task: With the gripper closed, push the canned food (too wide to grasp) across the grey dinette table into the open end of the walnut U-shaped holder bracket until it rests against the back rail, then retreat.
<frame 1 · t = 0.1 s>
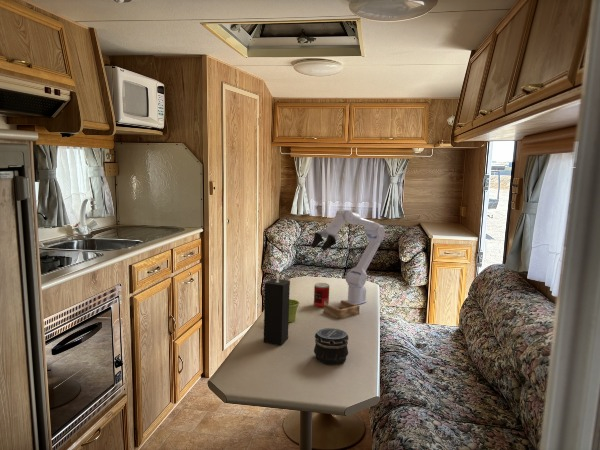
hand: (317, 247, 210), 32 cm above the table, tool tilted 50°, fingers open, 7 cm apart
plant pot: (288, 320, 201), on the table
canned food: (321, 305, 225), on the table
holder: (340, 312, 214), on the table
container: (330, 359, 163), on the table
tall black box: (275, 341, 177), on the table
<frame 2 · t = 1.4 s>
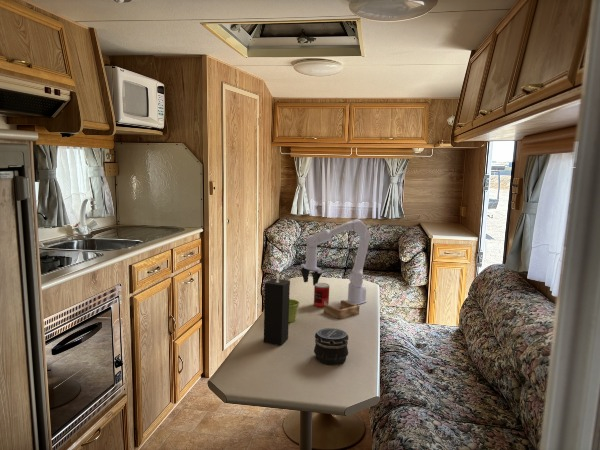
hand: (310, 283, 231), 9 cm above the table, tool pointing down, fingers open, 7 cm apart
nothing on the table moved.
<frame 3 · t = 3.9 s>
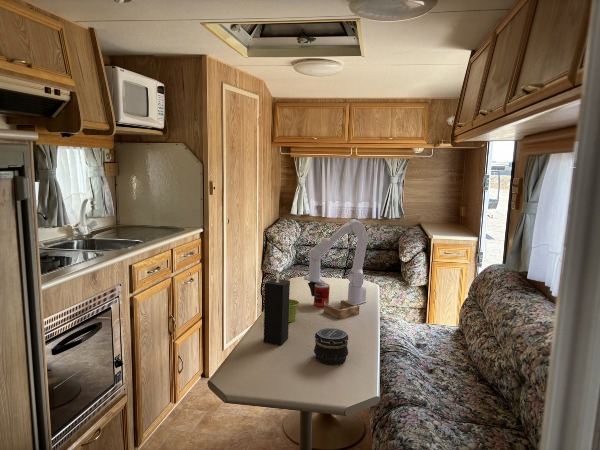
hand: (313, 295, 229), 3 cm above the table, tool pointing down, fingers closed
canned food: (321, 305, 225), on the table, touching gripper
everything else where it was.
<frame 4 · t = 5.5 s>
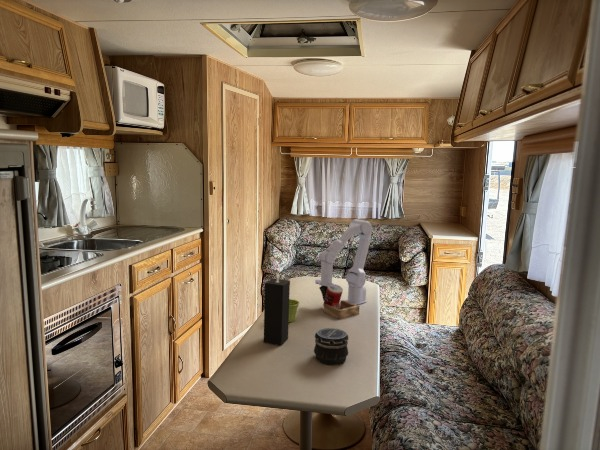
hand: (325, 300, 222), 3 cm above the table, tool pointing down, fingers closed
canned food: (330, 307, 220), point 1 cm above the table, touching gripper
everything else where it was.
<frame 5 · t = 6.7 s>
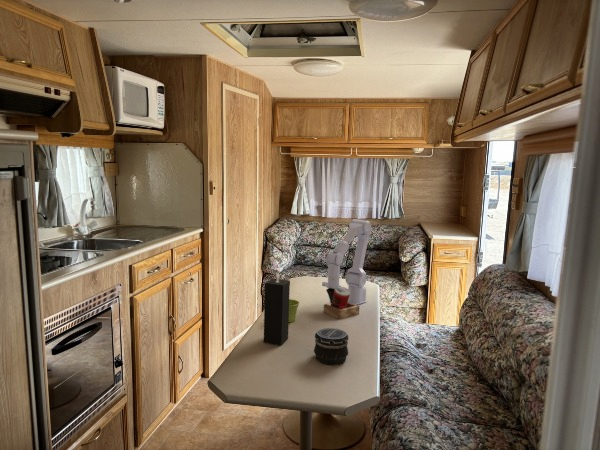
hand: (332, 303, 218), 3 cm above the table, tool pointing down, fingers closed
canned food: (337, 310, 216), point 1 cm above the table, touching gripper
everything else where it was.
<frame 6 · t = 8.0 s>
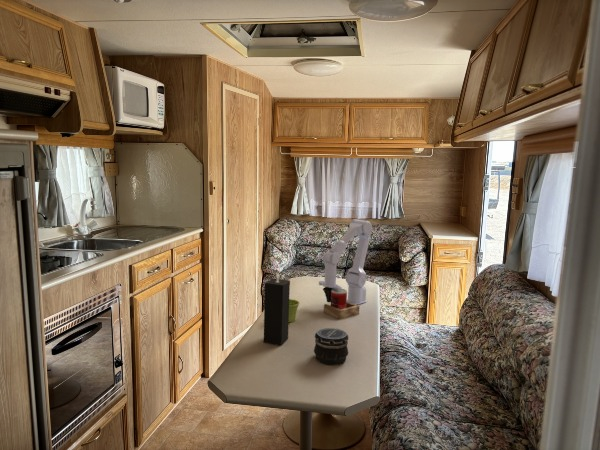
hand: (329, 301, 220), 3 cm above the table, tool pointing down, fingers closed
canned food: (338, 312, 215), on the table
everything else where it was.
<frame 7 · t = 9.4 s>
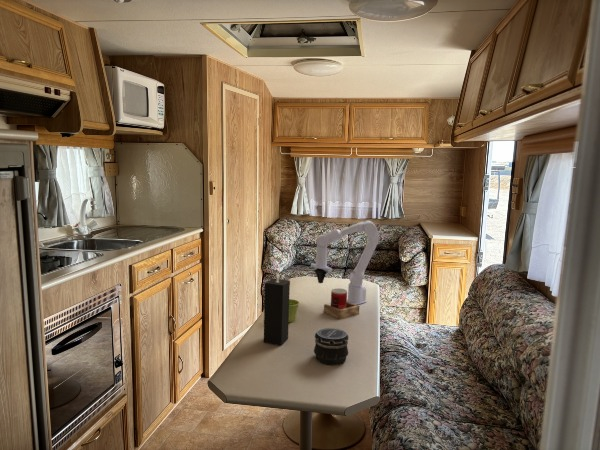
hand: (320, 282, 231), 10 cm above the table, tool pointing down, fingers closed
nothing on the table moved.
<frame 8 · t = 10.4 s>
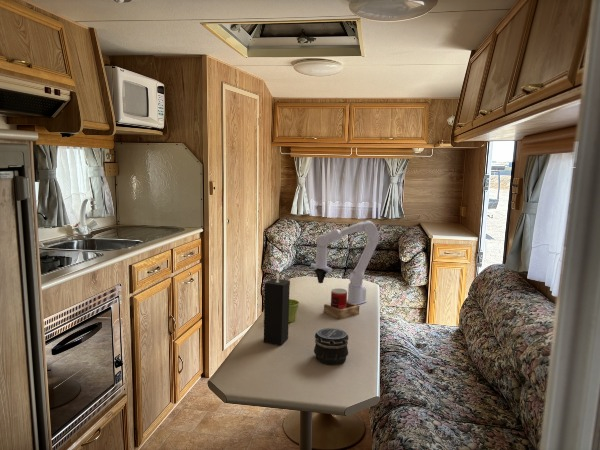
hand: (320, 282, 231), 10 cm above the table, tool pointing down, fingers closed
nothing on the table moved.
at the end: canned food inside the target area on the holder (2.1 cm from its centre), point 0.0 cm above the holder's base; canned food tilted 0° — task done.
